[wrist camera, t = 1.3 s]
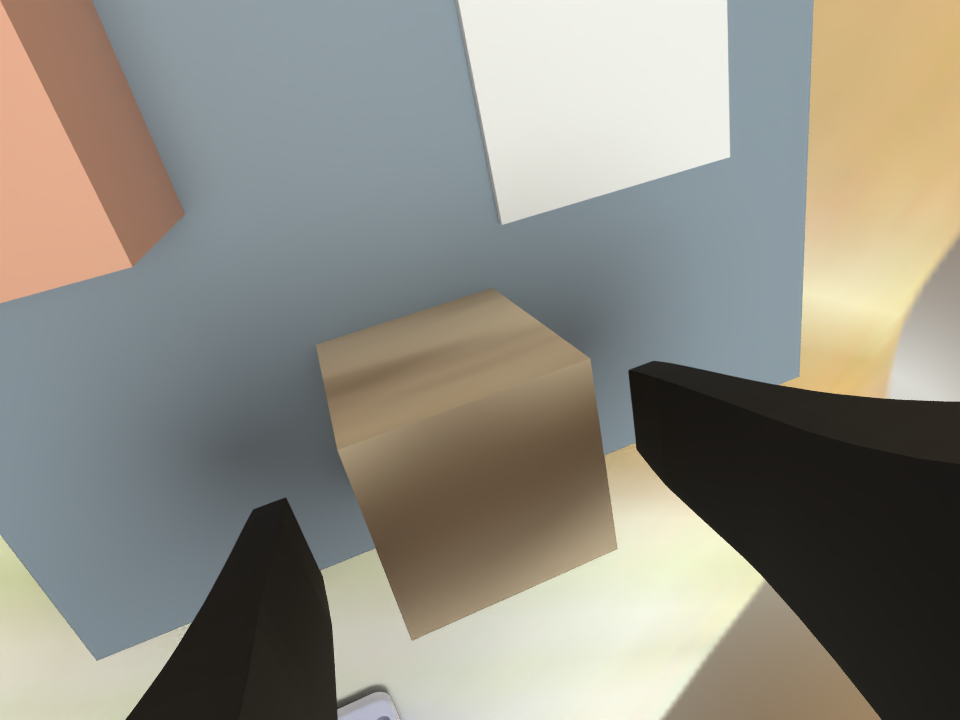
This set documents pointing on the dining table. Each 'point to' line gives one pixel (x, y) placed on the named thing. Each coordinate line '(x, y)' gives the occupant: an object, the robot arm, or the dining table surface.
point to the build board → (388, 253)
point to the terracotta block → (71, 153)
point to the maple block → (469, 453)
